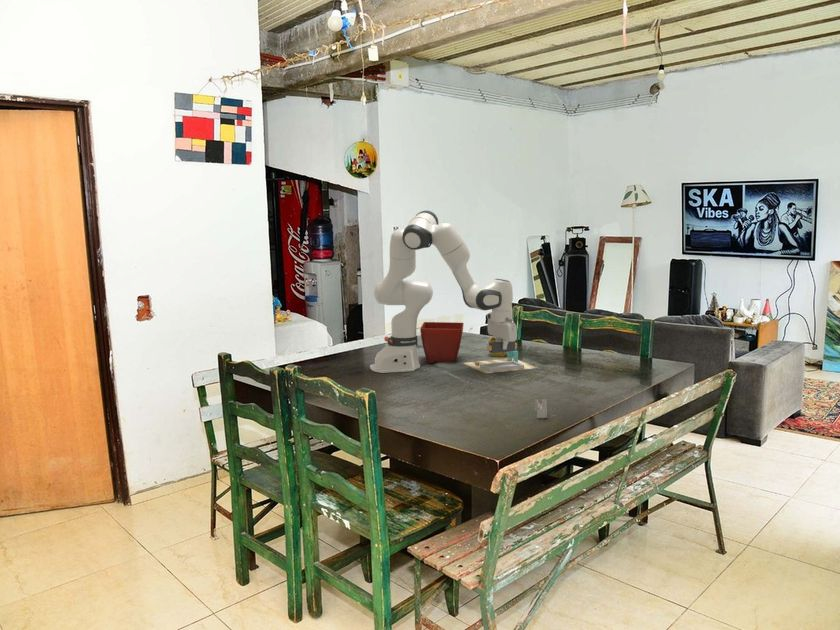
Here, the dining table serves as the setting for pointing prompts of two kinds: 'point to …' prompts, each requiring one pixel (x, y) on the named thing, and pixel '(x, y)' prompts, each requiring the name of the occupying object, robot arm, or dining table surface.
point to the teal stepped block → (515, 355)
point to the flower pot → (500, 354)
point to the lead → (497, 347)
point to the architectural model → (543, 411)
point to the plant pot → (441, 340)
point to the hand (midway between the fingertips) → (501, 348)
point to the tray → (501, 366)
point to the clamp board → (477, 364)
